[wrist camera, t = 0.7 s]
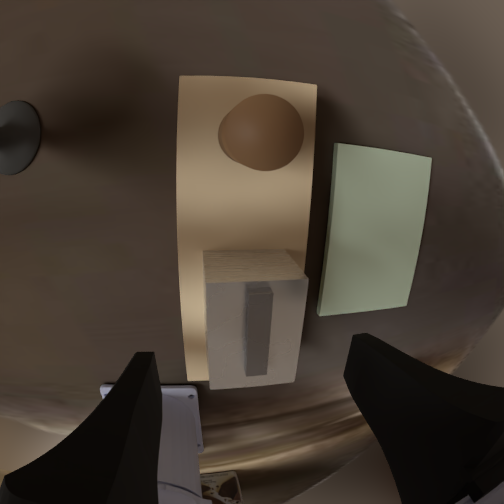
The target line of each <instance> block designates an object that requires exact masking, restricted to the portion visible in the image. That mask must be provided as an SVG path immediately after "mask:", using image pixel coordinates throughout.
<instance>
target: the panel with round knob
mask: <svg viewBox="0 0 504 504" xmlns="http://www.w3.org/2000/svg"><path fill="white" fill-rule="evenodd" d="M316 99H317V85H313V84H306V83H299V82H291V81H282V80H272V79H261V78H247V77H229V76H180V77H179V95H178V119H177V173H176V185H177V239H178V264H179V283H180V299H181V314H182V327H183V338H184V349H185V360H186V369H187V378H188V381H203V380H209V375H208V366H207V355H206V345H205V322H204V293H203V251H211V250H258V249H285V251H286V252H287V253H288V254H289V255H290V257H291V258H292V259H293V260H294V261H295V263H296V264H297V265H298V266H299V268H300V269H301V270H302V271H303V272H304V268H305V259H306V249H307V238H308V227H309V216H310V204H311V191H312V176H313V161H314V144H315V124H316Z"/></svg>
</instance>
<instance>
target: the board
mask: <svg viewBox="0 0 504 504" xmlns="http://www.w3.org/2000/svg"><path fill="white" fill-rule="evenodd" d="M431 161H432V158H429V157H424V156H419V155H414V154H408V153H403V152H397V151H391V150H385V149H378V148H371V147H364V146H357V145H349V144H341V143H334V152H333V167H332V180H331V192H330V204H329V214H328V224H327V234H326V243H325V252H324V260H323V268H322V276H321V284H320V291H319V298H318V305H317V314H318V315H319V316H327V315H336V314H346V313H355V312H363V311H372V310H379V309H387V308H395V307H402V306H406V305H407V301H408V297H409V293H410V289H411V285H412V281H413V276H414V272H415V267H416V262H417V258H418V253H419V248H420V242H421V237H422V231H423V225H424V219H425V212H426V205H427V198H428V190H429V182H430V172H431Z"/></svg>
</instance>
